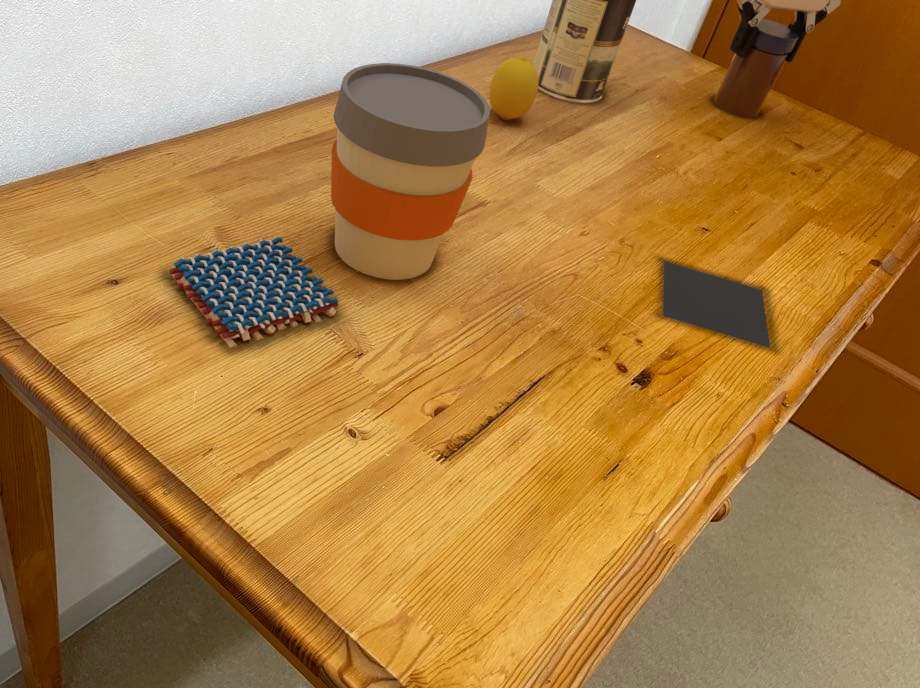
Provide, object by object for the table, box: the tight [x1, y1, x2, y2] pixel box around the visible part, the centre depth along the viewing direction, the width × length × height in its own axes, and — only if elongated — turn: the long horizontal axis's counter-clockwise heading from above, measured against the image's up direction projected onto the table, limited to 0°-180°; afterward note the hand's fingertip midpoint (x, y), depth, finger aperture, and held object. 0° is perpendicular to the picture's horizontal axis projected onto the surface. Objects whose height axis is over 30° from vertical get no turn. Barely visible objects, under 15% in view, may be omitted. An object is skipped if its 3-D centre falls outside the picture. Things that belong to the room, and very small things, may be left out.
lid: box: [752, 18, 799, 53], centre depth 113 cm, size 7×7×2 cm
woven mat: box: [169, 236, 339, 349], centre depth 69 cm, size 10×11×2 cm
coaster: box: [662, 260, 771, 349], centre depth 81 cm, size 10×10×1 cm
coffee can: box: [533, 0, 637, 104], centre depth 110 cm, size 10×10×14 cm
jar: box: [713, 45, 788, 119], centre depth 117 cm, size 6×6×11 cm
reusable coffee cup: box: [330, 62, 491, 281], centre depth 72 cm, size 13×12×15 cm
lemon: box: [489, 55, 539, 121], centre depth 101 cm, size 6×6×8 cm
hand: (760, 54), depth 115 cm, fingers closed on lid, 6 cm apart
